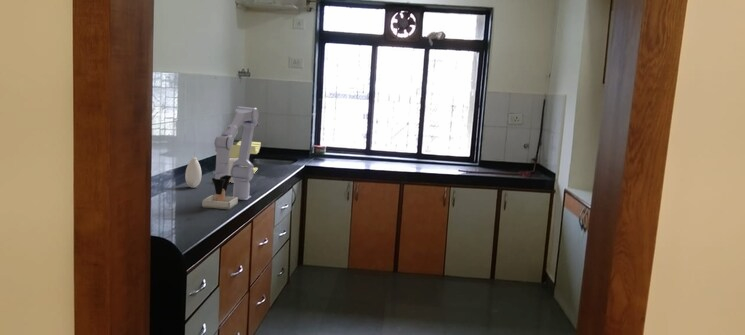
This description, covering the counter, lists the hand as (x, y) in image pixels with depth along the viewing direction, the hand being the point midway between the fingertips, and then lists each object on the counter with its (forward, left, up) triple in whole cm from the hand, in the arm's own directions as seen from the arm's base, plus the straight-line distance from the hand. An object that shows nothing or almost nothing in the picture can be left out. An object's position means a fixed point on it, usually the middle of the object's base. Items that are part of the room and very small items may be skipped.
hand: (221, 192), depth 255 cm
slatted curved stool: (-111, -17, -6) cm, 112 cm away
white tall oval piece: (-37, -25, -6) cm, 45 cm away
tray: (0, 0, -6) cm, 6 cm away
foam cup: (-65, -11, -6) cm, 66 cm away
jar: (0, 0, -5) cm, 5 cm away
